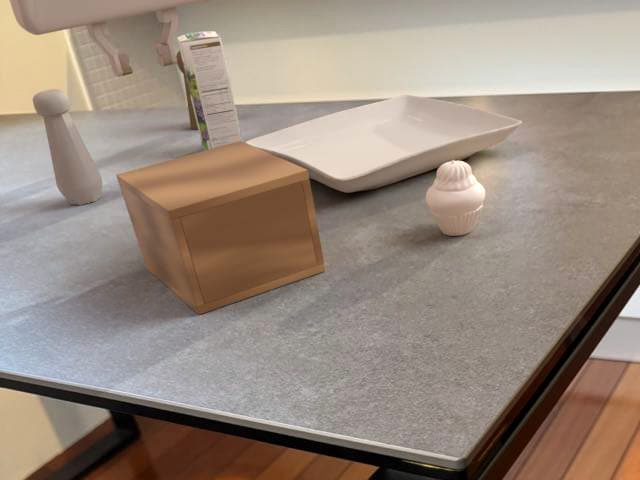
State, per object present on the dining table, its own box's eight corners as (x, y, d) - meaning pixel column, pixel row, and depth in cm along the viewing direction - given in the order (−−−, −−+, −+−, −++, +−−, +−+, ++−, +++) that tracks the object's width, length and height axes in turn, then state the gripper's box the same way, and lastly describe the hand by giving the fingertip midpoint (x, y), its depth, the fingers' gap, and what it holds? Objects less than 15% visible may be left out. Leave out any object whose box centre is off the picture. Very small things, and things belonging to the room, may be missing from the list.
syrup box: (201, 146, 122) (173, 35, 113) (240, 139, 123) (215, 28, 114) (206, 156, 118) (177, 41, 108) (246, 148, 119) (220, 33, 109)
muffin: (499, 225, 84) (496, 154, 80) (460, 245, 81) (455, 173, 77) (455, 216, 88) (450, 147, 83) (416, 234, 85) (409, 164, 80)
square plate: (408, 119, 121) (406, 90, 118) (526, 151, 103) (526, 117, 100) (246, 166, 111) (239, 136, 109) (344, 211, 93) (338, 176, 90)
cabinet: (146, 268, 86) (115, 174, 80) (261, 232, 91) (240, 140, 84) (199, 315, 75) (168, 210, 69) (325, 271, 80) (307, 169, 74)
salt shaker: (84, 208, 105) (44, 97, 96) (54, 205, 107) (13, 97, 99) (116, 193, 108) (80, 85, 100) (87, 191, 111) (49, 85, 102)
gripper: (193, -124, 76) (230, 45, 85) (-28, -91, 69) (37, 88, 78) (218, -127, 72) (254, 50, 81) (-15, -93, 65) (52, 97, 74)
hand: (146, 69), depth 79 cm, fingers open, 3 cm apart
